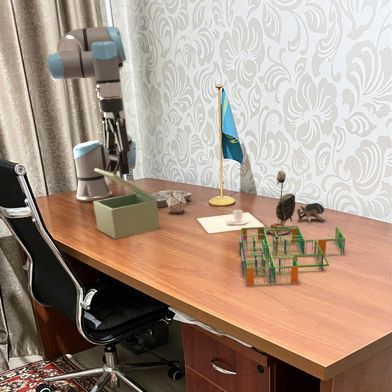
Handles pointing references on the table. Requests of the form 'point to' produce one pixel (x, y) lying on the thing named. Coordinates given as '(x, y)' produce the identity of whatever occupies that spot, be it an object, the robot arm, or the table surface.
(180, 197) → the game die
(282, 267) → the wall framing model
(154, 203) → the chest
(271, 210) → the table surface
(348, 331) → the table surface
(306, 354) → the table surface
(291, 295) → the table surface
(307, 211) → the brown animal figurine
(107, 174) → the lid
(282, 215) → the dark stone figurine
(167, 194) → the brain slice
